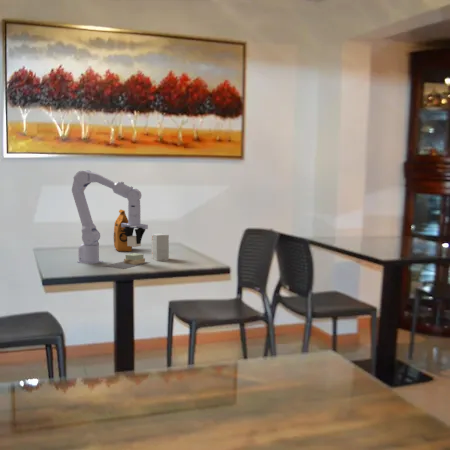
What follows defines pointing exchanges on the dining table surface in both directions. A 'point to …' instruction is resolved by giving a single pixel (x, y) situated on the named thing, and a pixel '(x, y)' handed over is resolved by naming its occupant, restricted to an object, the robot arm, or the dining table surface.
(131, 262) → the maple base slab
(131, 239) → the offwhite cube
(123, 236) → the coffee package
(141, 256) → the sage top slab
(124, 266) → the rubber mat
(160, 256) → the small box
